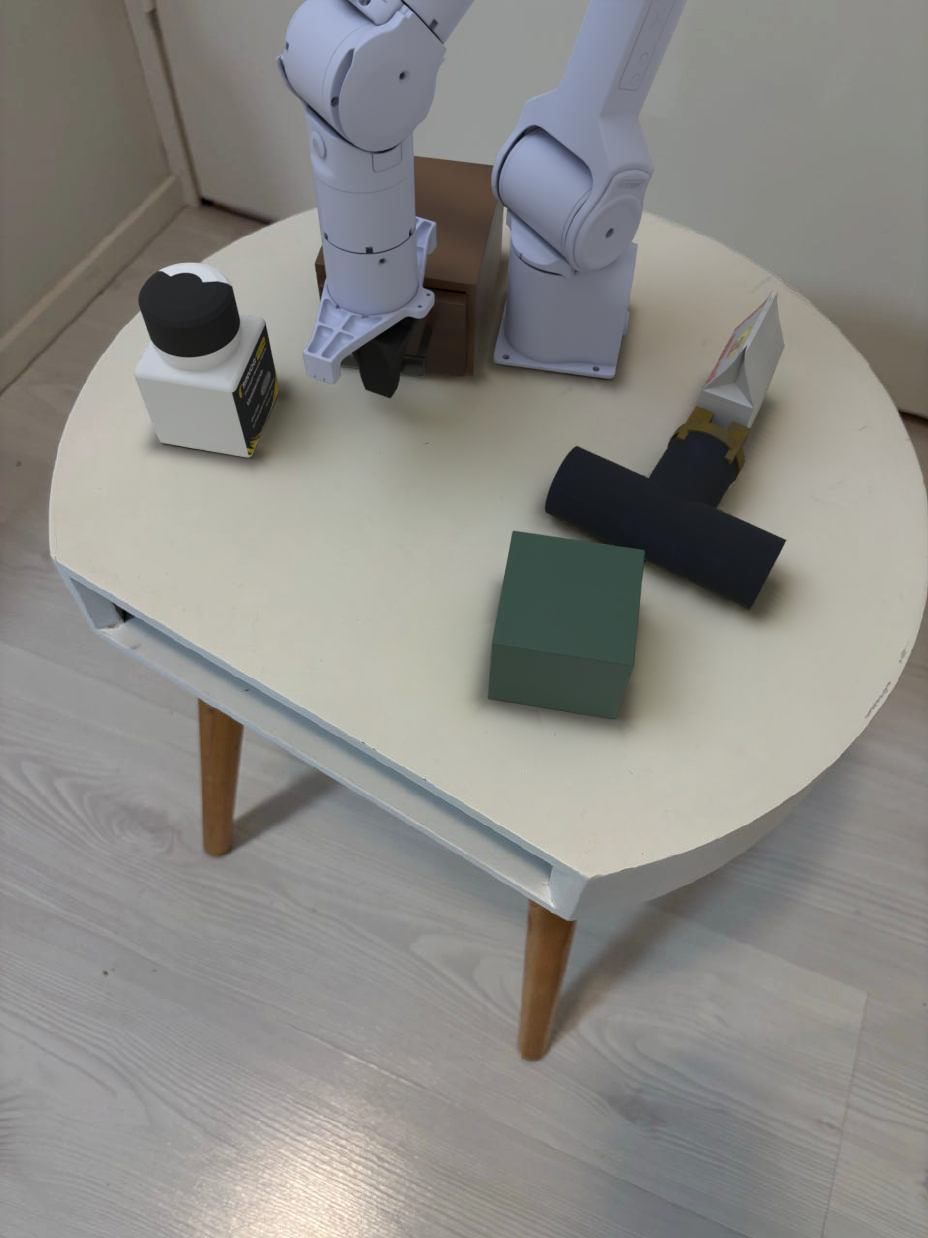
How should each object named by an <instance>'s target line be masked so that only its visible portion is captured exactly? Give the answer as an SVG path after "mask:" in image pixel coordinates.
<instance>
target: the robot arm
mask: <svg viewBox="0 0 928 1238" xmlns="http://www.w3.org/2000/svg"><path fill="white" fill-rule="evenodd" d="M474 2H475V0H305V1H304V2H303V3H302V4H300V6H298V8H297V9H296V10H295V12H294V14H293V15H292V17H291V19H290V21H289V23H288V26H287V29H286V33H285V37H284V48H283V53H281V54H280V55H277V56H276V58H275V63H276V69H277V72H278V74H279V76H280V78H281V81H282V82H283V84H284V86H285V87H286V88H287V89H288V90H289V92H291V93H292V94H293V95H294V96H295V97H296V98H298V99H299V101H300V102H301V104H302V107H303V112H304V118H305V125H306V132H307V139H308V140H307V141H308V147H309V156H310V164H311V172H312V178H313V186H314V193H315V201H316V208H317V209H316V210H317V216H318V223H319V225H318V226H319V229H320V230H319V231H320V232H319V233H320V239H321V245H322V247H323V255H324V262H325V270H326V277H327V278H326V280H325V284H324V288H323V293H322V297H321V301H320V300H319V305H318V310H317V314H316V318H315V323H314V327H313V331H312V334H311V338H310V340H309V342H308V344H307V345H306V347H305V348H304V350H303V351H302V359H303V364H304V368H305V373H306V376H308V377H311V378H313V379H314V380H318V381H320V382H323V383H327V384H329V385H333V386H335V385H337V382H338V381H339V380H340V379H341V377H342V369H341V361H342V360H343V359H344V358H345V357H346V356H348V355H349V354H351V353H352V355H353V356H354V358H355V360H356V361H357V363H358V367H359V368H358V371H359V376H360V379H361V383H362V385H363V387H364V390H366V391H368V392H371V393H373V394H376V395H379V396H382V397H384V398H387V399H391V398H392V397H393V396H394V394H395V393H396V391H397V390H398V388H399V385H400V380H401V374H400V372H401V366H402V362H403V358H404V354H405V351H406V348H407V345H408V342H409V340H410V337H411V335H412V333H413V331H414V329H415V327H416V325H417V323H418V322H419V320H420V318H424V317H425V316H426V315H427V314H428V312H429V311H430V309H431V308H432V307H433V305H434V302H435V297H434V293H433V292H432V291H430V290H427V289H425V288H423V280H424V274H425V268H426V261H427V255H428V254H431V253H432V252H433V251H434V249H435V248H436V247H437V237H436V222H433V221H430V220H426V219H423V218H420V217H417V216H416V215H415V186H414V156H415V155H414V154H415V153H414V131H415V130H416V129H417V127H418V126H419V125H420V124H422V122H423V121H424V120H426V118H427V116H428V114H429V112H430V110H431V107H432V104H433V101H434V97H435V93H436V87H437V76H438V73H439V70H440V68H441V66H442V65H443V64H444V62H445V60H446V58H445V57H444V56H445V54H447V53H446V52H447V47H446V46H445V43H446V42H447V41H448V40H449V38H450V36H451V35H452V34H453V32H454V30H455V29H456V27H458V25H459V23H461V20H462V19H463V18H464V16H465V15H466V14H467V12H468V10H469V9H470V8H471V6H472V5H473V3H474ZM687 2H688V0H589V3H588V5H587V9H586V12H585V14H584V17H583V20H582V23H581V25H580V28H579V30H578V34H577V36H576V40H575V42H574V45H573V48H572V50H571V53H570V57H569V59H568V61H567V64H566V67H565V70H564V73H563V76H562V79H561V82H560V84H559V86H558V87H557V88H555V89H552V90H549V91H547V92H544V93H542V94H539V95H536V96H534V97H531V98H530V99H528V100H527V101H525V103H524V105H523V108H522V111H521V114H520V116H519V119H518V122H517V124H516V126H515V128H514V129H513V131H512V132H511V134H510V136H508V137H507V139H506V141H505V142H504V144H503V145H502V146H501V148H500V150H499V152H498V153H497V156H496V158H495V160H494V164H493V165H494V166H493V171H492V177H491V186H492V191H493V194H494V196H495V198H496V200H497V201H498V202H499V203H500V204H501V205H502V206H504V208H506V218H505V225H506V226H507V227H508V229H509V231H510V241H509V254H508V255H509V257H508V270H507V271H508V273H507V285H506V287H507V288H506V296H505V301H504V306H503V311H502V313H501V314H502V315H501V319H500V324H499V328H498V332H497V336H496V341H495V346H494V350H493V354H492V362H494V363H495V364H497V365H505V366H512V367H519V368H526V369H534V370H541V371H548V372H549V371H550V372H554V373H555V372H556V373H564V374H570V375H578V376H584V377H593V378H600V379H605V380H607V379H608V380H610V379H613V378H615V375H616V370H617V364H618V360H619V354H620V349H621V345H622V344H621V343H622V339H623V336H626V334H627V331H628V325H629V319H630V311H629V310H628V308H629V303H630V298H631V293H632V292H631V291H632V288H633V281H634V276H635V275H634V274H635V270H636V269H635V268H636V262H637V255H638V245H639V244H638V243H636V242H633V240H634V238H635V237H636V235H637V232H638V230H639V227H640V224H641V220H642V215H643V209H644V199H645V195H646V191H647V189H648V186H649V184H650V181H651V179H652V177H653V174H654V172H655V167H654V163H653V162H654V161H653V159H652V156H651V152H650V150H649V147H648V143H647V141H646V138H645V134H644V132H643V128H642V124H641V121H640V114H641V111H642V109H643V107H644V104H645V102H646V99H647V97H648V94H649V92H650V90H651V88H652V85H653V83H654V80H655V78H656V75H657V74H658V70H659V69H660V66H661V64H662V61H663V60H664V56H665V54H666V52H667V50H668V47H669V46H670V45H669V44H670V42H671V39H672V38H673V35H674V33H675V31H676V28H677V25H678V23H679V21H680V18H681V16H682V15H683V11H684V9H685V6H686V4H687Z"/></svg>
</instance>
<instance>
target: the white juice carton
mask: <svg viewBox="0 0 928 1238" xmlns="http://www.w3.org/2000/svg"><path fill="white" fill-rule="evenodd" d="M773 291H774V289H772V290H771V292H770V293H769V295H768V296H767V298H766V299H765V300H764V302H762V303H761V304H760V306H759V307H757V308H756V310H754V311H753V312H752V313H751V314H750V315H749V316H748V317H746V318H745V319H744V320H743V321H742V322H741V323H739V324H738V326H736V327H735V328H734V330H733V331H732V333H731V335H730V337H729V339H728V341H727V343H726V345H725V346H724V348H723V350H722V352H721V354H720V356H719V358H718V360H717V362H716V363H715V365H714V367H713V369H712V371H711V373H710V374H709V376H708V378H707V379H706V382H705V384H704V386H703V388H702V390H701V392H700V396H699V399H698V401H697V405H696V406H698V407H701V408H703V409H705V410H708V411H710V412H712V413H714V416H713V419H712V422H711V423H712V424H715V425H717V426H719V427H721V428H723V429H725V430H726V431H727V429H728V428H729V426H730V424H731V423H732V421H734V422H736V423H738V424H741V425H743V426H745V427H748V428H750V429H752V426H753V423H754V421H755V420H756V418H757V416H758V415H759V414H758V413H759V412H760V409H761V407H762V405H763V403H764V401H765V397H766V395H767V393H768V391H769V387H770V385H771V383H772V380H773V378H774V374H775V372H776V369H777V367H778V364H779V361H780V359H781V358H782V357H781V356H782V354H783V352H784V349H785V347H786V346H785V345H786V344H785V340H784V336H783V329H782V325H781V321H780V314H779V305H778V297H779V292H778V291H777V292H775V294H774V295H773Z"/></svg>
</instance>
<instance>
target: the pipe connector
mask: <svg viewBox="0 0 928 1238" xmlns="http://www.w3.org/2000/svg"><path fill="white" fill-rule="evenodd" d="M713 416H714V413H712V412H710V411H708V410H705V409H703V408H701V407H698V406H697V405H696V406H695V407H694V409H693V410H692V412H691V414H690V415H689V417H688V418H687V420H686V422H685V423H683V424H681V425H680V426H678V428H677V429H675V430H674V432H673V434H672V435H671V437H670V439H669V440H668V443H667V447H666V449H665V451H664V452H663V454H662V456H661V457H660V458H659V460H658V462H657V463H656V465H655V466H654V468H653V470H651V473H650V474H649V476H645V475H643V474H641V473H639V472H637V471H635V470H632V469H630V468H627V467H625V466H623V465H621V464H618V463H616V462H614V461H613V460H610V459H607V458H605V457H603V456H601V455H598V454H596V453H595V452H593V451H590V450H587V449H585V448H583V447H580V446H578V445H575V446H574V447H573V448H571V449H570V450H569V451H568V453H567V454H566V456H565V457H564V458H563V460H562V462H561V463H560V465H559V467H558V469H557V471H556V473H555V474H554V477H553V479H552V481H551V484H550V486H549V489H548V492H547V495H546V499H545V503H544V513H546V514H547V515H549V516H552V517H554V518H555V519H558V520H559V521H562V522H564V523H566V524H568V525H570V526H572V527H575V528H577V529H579V530H580V531H583V532H585V533H586V534H589V535H591V536H594V537H596V538H597V539H600V540H602V541H604V542H606V543H609V545H613V546H620V547H627V548H633V549H640V550H644V551H645V555H644V561H646V562H648V563H650V564H652V565H654V566H656V567H658V568H661V569H663V570H665V571H667V572H670V573H672V574H674V575H676V576H678V577H680V578H682V579H683V580H686V581H688V582H690V583H692V584H695V585H696V586H699V587H701V588H703V589H705V590H707V591H709V592H711V593H714V594H716V595H717V596H720V597H723V598H724V599H726V600H728V601H731V602H732V603H735V604H737V605H739V606H741V607H743V608H744V609H747V610H750V611H751V610H752V608H753V606H754V605H755V602H756V601H757V598H758V597H759V595H760V593H761V591H762V589H763V587H764V586H765V583H766V581H767V579H768V577H769V576H770V573H771V572H772V570H773V568H774V566H775V564H776V562H777V560H778V557H779V555H780V554H781V552H782V550H783V548H784V546H785V545H786V542H787V539H785V538H783V537H781V536H779V535H776V534H774V533H772V532H770V531H768V530H765V529H763V528H761V527H759V526H757V525H754V524H752V523H751V522H750V523H749V521H748V522H747V521H745V520H743V519H741V518H739V517H736V516H735V515H732V514H730V513H728V512H725V511H723V510H721V509H719V508H718V507H719V505H720V504H721V501H722V500H723V498H724V497H725V495H726V493H727V491H728V489H729V488H730V486H731V485H732V484H733V483H734V482H735V481H736V480H737V478H738V477H739V475H740V473H741V472H742V470H743V468H744V465H745V462H746V460H745V459H746V457H745V452H744V449H743V447H744V446H745V444H746V442H747V439H748V437H749V436H750V435H749V434H750V431H751V428H748V427H745V426H743V425H741V424H738V423H736V422H734V421H732V423H731V424H730V426H729V428H728V429H727V431H726V430H725V429H723V428H721V427H719V426H717V425H715V424H712V423H711V422H712V419H713Z"/></svg>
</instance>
